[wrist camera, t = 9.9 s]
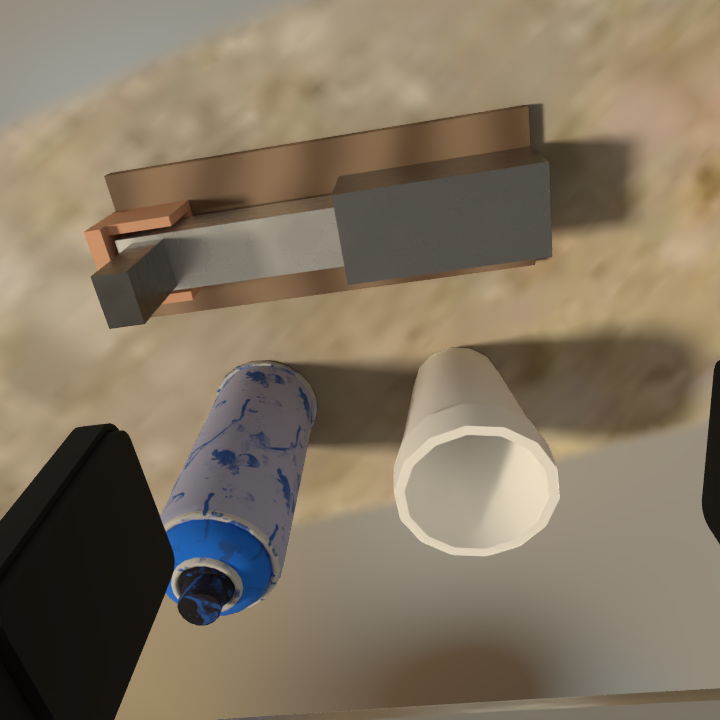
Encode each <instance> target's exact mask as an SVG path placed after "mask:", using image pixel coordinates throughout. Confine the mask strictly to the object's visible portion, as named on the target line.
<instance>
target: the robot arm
mask: <svg viewBox="0 0 720 720" xmlns="http://www.w3.org/2000/svg"><path fill="white" fill-rule="evenodd" d="M702 509H703V514H704V518H705V520H706V523H707V524H708V526H709V528H710V530H711V531H712V533H713V534H714V536H715V538H716V539H717V541H718V542H719V544H720V360H719V361H718V362H717V363H716V365H715V368H714V375H713V386H712V397H711V407H710V418H709V429H708V441H707V452H706V462H705V473H704V484H703V494H702ZM174 567H175V558H174V552H173V549H172V547H171V544H170V541H169V539H168V536H167V533H166V531H165V528H164V526H163V523H162V520H161V518H160V515H159V512H158V510H157V507H156V505H155V502H154V499H153V497H152V494H151V491H150V489H149V486H148V483H147V481H146V478H145V476H144V473H143V470H142V468H141V465H140V462H139V460H138V457H137V455H136V452H135V449H134V447H133V444H132V441H131V439H130V437H129V435H128V434H127V433H126V432H125V431H123V430H122V431H119V430H118V428H117V427H116V426H115V425H113V424H111V423H109V424H100V425H92V426H84V427H77V428H75V429H74V430H73V431H72V432H71V433H70V435H69V436H68V437H67V438H66V440H65V441H64V442H63V443H62V445H61V446H60V447H59V448H58V450H57V451H56V452H55V453H54V455H53V456H52V457H51V458H50V460H49V461H48V462H47V463H46V464H45V466H44V467H43V468H42V469H41V471H40V472H39V473H38V474H37V476H36V477H35V478H34V479H33V481H32V482H31V483H30V484H29V486H28V487H27V488H26V489H25V491H24V492H23V493H22V494H21V496H20V497H19V498H18V499H17V501H16V502H15V503H14V504H13V506H12V507H11V508H10V509H9V511H8V512H7V513H6V514H5V516H4V517H3V518H2V519H1V521H0V720H114V719H115V716H116V714H117V711H118V709H119V707H120V704H121V702H122V699H123V697H124V694H125V692H126V689H127V687H128V684H129V682H130V679H131V677H132V674H133V672H134V669H135V667H136V664H137V662H138V660H139V657H140V654H141V652H142V649H143V647H144V645H145V642H146V640H147V637H148V635H149V632H150V630H151V627H152V625H153V622H154V620H155V618H156V615H157V613H158V610H159V608H160V605H161V603H162V600H163V598H164V595H165V593H166V590H167V588H168V585H169V583H170V580H171V578H172V576H173V572H174ZM219 720H720V688H717V689H700V690H684V691H665V692H647V693H631V694H613V695H596V696H579V697H561V698H544V699H527V700H511V701H496V702H480V703H463V704H447V705H431V706H416V707H400V708H385V709H369V710H353V711H338V712H323V713H307V714H293V715H276V716H262V717H248V718H234V719H219Z"/></svg>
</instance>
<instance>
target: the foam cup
mask: <svg viewBox="0 0 720 720" xmlns="http://www.w3.org/2000/svg"><path fill="white" fill-rule="evenodd" d="M394 494H395V499H396V503H397V507H398V512H399V516H400V519H401V521H402V522H403V523H404V524H405V525H406V526H407V527H408V528H409V529H410V530H411V531H412V533H413V534H414V535H415V536H416V537H417V538H418V539H419V540H420V541H421V542H423V543H425V544H427V545H430V546H432V547H435V548H437V549H439V550H441V551H444V552H446V553H449V554H451V555H467V556H489V555H493V554H496V553H499V552H503V551H506V550H509V549H513V548H516V547H519V546H521V545H522V544H524V543H525V542H526V541H528V540H529V539H530V538H531V537H533V536H534V535H535V534H536V533H538V532H539V531H540V530H542V529H543V528H544V527H545V526H546V525H547V523H548V521H549V519H550V517H551V515H552V513H553V511H554V509H555V507H556V505H557V503H558V501H559V499H560V493H559V483H558V471H557V466H556V464H555V461H554V458H553V456H552V453H551V451H550V448H549V445H548V444H547V442H546V441H545V440H544V438H543V437H542V436H541V434H540V433H539V432H538V430H537V429H536V428H535V426H534V425H533V424H532V422H531V421H530V420H529V419H528V418H527V417H526V415H525V413H524V412H523V410H522V409H521V407H520V406H519V404H518V402H517V401H516V399H515V398H514V396H513V394H512V393H511V391H510V390H509V388H508V387H507V385H506V383H505V382H504V380H503V379H502V377H501V376H500V374H499V373H498V371H497V370H496V368H495V367H494V366H493V364H492V363H491V362H490V360H489V359H488V358H487V356H485V355H483V354H481V353H479V352H477V351H474V350H472V349H470V348H448V349H445V350H443V351H440V352H438V353H435V354H432V355H431V356H430V357H429V358H428V359H427V360H426V361H425V362H424V363H423V364H422V365H421V366H420V368H419V371H418V374H417V377H416V380H415V383H414V387H413V391H412V396H411V401H410V406H409V411H408V416H407V421H406V425H405V430H404V435H403V440H402V444H401V447H400V450H399V453H398V456H397V459H396V462H395V465H394Z"/></svg>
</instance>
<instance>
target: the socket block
mask: <svg viewBox="0 0 720 720" xmlns="http://www.w3.org/2000/svg"><path fill="white" fill-rule="evenodd" d="M191 216H193V215H192V212H191V208H190V205H189V201H188V200H184V201H178V202H172V203H165V204H159V205H153V206H146V207H140V208H134V209H127V210H121V211H116V212H114V213H112V214H111V215H109V216H108V217H106V218H105V219H103V220H102V221H100V222H99V223H97V224H95V225H94V226H92V227H91V228H89V229H88V230H86V231H85V232H84V234H85V237H86V240H87V242H88V245H89V248H90V251H91V254H92V256H93V259H94V262H95V265H96V267H97V270H99V269H101V268H102V267H103V266H104V265H106V264H107V263H108V262H109V261H111V260H112V259H113V258H114V257H115V256H117V255H118V254H119V253H118V250H117V247H116V244H115V240H116V239H118V238H119V237H120V236H122V235H123V234H124V233H129V232H135V231H142V230H148V229H155V228H162V227H168V226H172V225H173V224H174V223H175V222H176V221H178V220H179V219H180V218H184V217H191ZM202 288H203V286H202V287H195V288H188V289H181V290H173V291H172V292H171V294H170V295H169V296H168V297H167V298H166V299H165V301H164V302H163V303H162V304H169V303H176V302H183V301H190V300H194V298H195V297H196V296H197V294H198V293H199V292H200V290H201V289H202Z"/></svg>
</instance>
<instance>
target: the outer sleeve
mask: <svg viewBox="0 0 720 720" xmlns="http://www.w3.org/2000/svg"><path fill="white" fill-rule="evenodd" d="M332 200H333V206H334V211H335V217H336V222H337V228H338V234H339V239H340V245H341V250H342V256H343V261H344V267H345V272H346V278H347V284H348V285H352V284H360V283H367V282H374V281H381V280H389V279H396V278H403V277H410V276H418V275H425V274H432V273H439V272H447V271H454V270H461V269H468V268H475V267H483V266H490V265H497V264H504V263H512V262H519V261H526V260H533V259H541V258H548V257H552V234H551V201H550V168H549V161H548V160H547V159H545V158H544V157H543V156H542V155H541V154H539V153H538V152H537V151H536V150H534V149H533V148H532V147H531V146H527V147H521V148H515V149H508V150H502V151H496V152H489V153H483V154H477V155H470V156H464V157H458V158H451V159H445V160H438V161H432V162H426V163H419V164H413V165H407V166H400V167H394V168H388V169H381V170H375V171H369V172H362V173H356V174H350V175H343V176H339V177H338V179H337V182H336V185H335V187H334V190H333V193H332Z"/></svg>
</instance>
